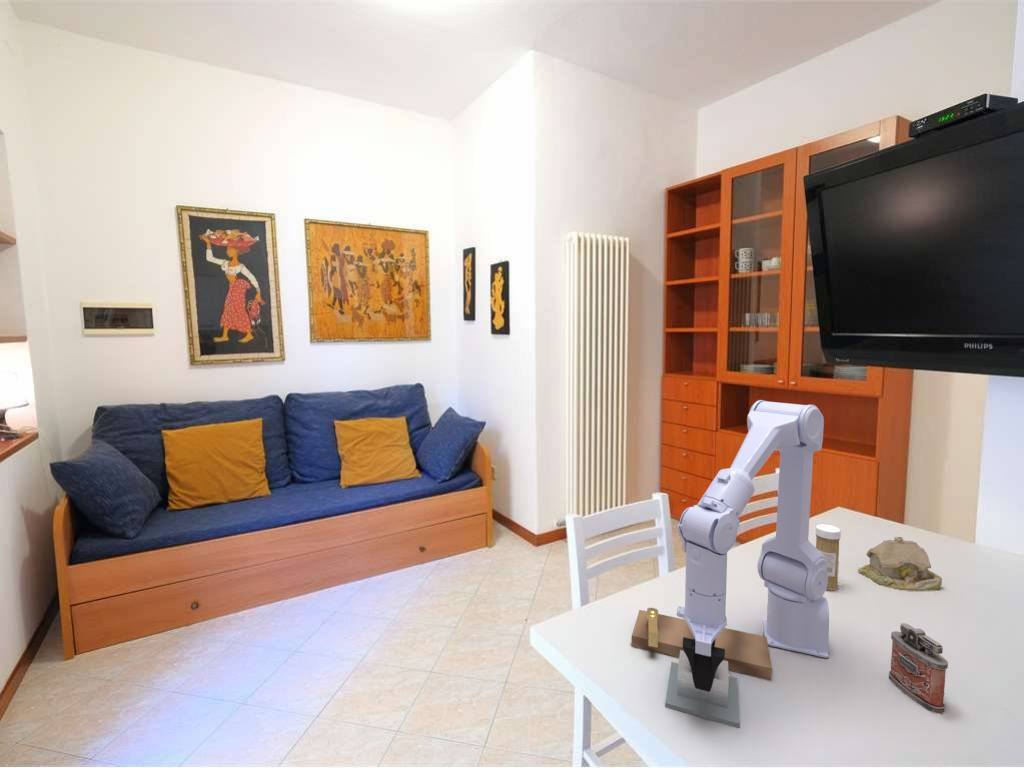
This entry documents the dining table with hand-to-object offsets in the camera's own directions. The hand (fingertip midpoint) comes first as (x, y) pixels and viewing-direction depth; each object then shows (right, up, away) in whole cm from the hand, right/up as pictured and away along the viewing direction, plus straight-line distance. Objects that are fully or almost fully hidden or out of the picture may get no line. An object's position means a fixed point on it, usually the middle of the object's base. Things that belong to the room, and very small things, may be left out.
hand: (703, 672), depth 73 cm
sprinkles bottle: (+40, -1, +33) cm, 52 cm away
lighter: (+33, -4, 0) cm, 33 cm away
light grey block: (0, -3, 0) cm, 3 cm away
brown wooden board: (+4, -3, +12) cm, 12 cm away
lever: (-4, -1, +12) cm, 13 cm away
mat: (0, -4, 0) cm, 4 cm away
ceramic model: (+59, -1, +36) cm, 69 cm away
